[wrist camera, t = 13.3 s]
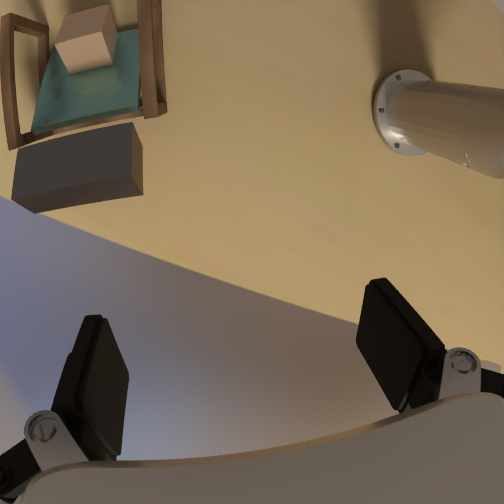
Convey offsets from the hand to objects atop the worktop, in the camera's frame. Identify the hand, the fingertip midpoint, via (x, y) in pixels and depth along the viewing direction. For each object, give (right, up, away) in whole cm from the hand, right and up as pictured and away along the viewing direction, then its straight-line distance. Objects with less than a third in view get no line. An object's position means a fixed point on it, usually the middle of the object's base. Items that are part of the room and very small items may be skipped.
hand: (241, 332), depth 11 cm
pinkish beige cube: (-17, +24, +16) cm, 34 cm away
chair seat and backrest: (-16, +17, +17) cm, 29 cm away
